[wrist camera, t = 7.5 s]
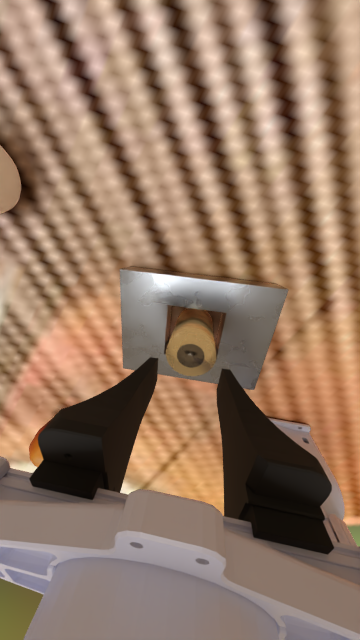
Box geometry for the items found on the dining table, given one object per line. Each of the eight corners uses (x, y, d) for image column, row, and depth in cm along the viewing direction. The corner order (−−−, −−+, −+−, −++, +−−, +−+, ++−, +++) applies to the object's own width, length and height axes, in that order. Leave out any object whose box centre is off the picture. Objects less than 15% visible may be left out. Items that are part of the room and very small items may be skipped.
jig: (276, 283, 19) (288, 289, 16) (248, 373, 23) (254, 390, 21) (131, 266, 20) (119, 269, 17) (132, 354, 25) (123, 368, 22)
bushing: (215, 309, 21) (220, 337, 14) (209, 342, 22) (211, 380, 16) (178, 304, 21) (167, 329, 14) (175, 336, 23) (163, 372, 16)
